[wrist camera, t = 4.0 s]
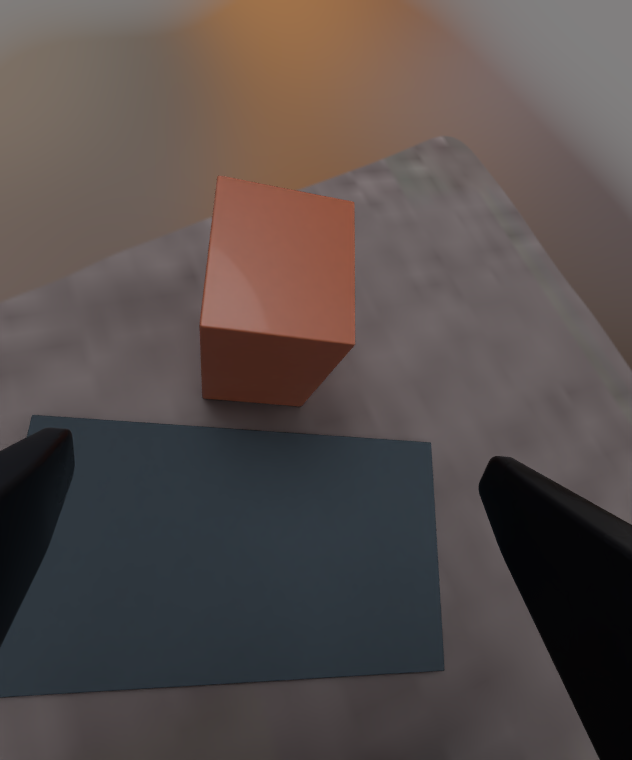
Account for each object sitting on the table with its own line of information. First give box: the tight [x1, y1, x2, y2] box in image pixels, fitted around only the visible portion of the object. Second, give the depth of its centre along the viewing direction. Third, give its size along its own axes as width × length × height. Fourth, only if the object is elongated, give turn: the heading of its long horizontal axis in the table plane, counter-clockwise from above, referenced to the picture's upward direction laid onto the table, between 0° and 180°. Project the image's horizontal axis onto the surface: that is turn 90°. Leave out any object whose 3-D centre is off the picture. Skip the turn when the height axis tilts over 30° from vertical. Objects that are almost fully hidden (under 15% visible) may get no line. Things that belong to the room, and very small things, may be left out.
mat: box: [0, 415, 444, 697], centre depth 20 cm, size 11×20×1 cm, turn 88°
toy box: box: [199, 176, 355, 407], centre depth 19 cm, size 6×5×9 cm
